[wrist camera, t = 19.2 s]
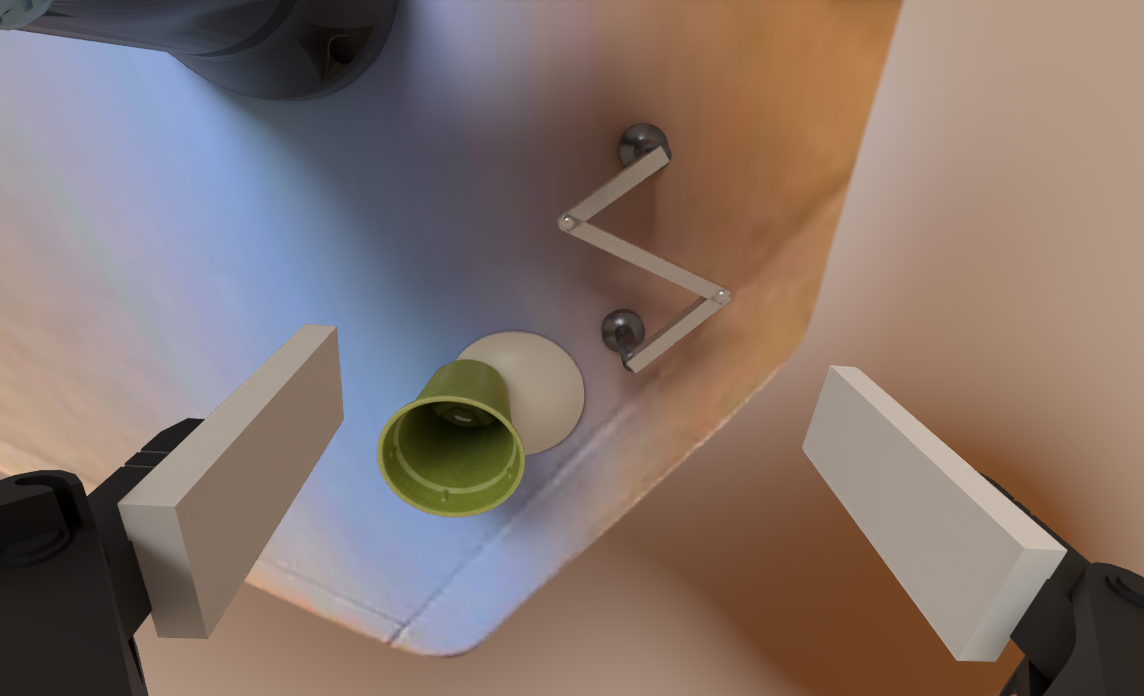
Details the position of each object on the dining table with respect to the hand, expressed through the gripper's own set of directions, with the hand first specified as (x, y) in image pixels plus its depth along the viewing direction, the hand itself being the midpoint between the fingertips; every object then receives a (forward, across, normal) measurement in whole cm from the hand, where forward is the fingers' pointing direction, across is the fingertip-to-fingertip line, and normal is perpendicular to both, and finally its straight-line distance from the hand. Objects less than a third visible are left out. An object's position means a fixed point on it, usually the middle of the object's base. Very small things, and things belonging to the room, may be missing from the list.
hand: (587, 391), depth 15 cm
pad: (+25, -2, -15) cm, 29 cm away
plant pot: (+25, -6, -14) cm, 29 cm away
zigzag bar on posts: (+26, +5, -2) cm, 26 cm away
